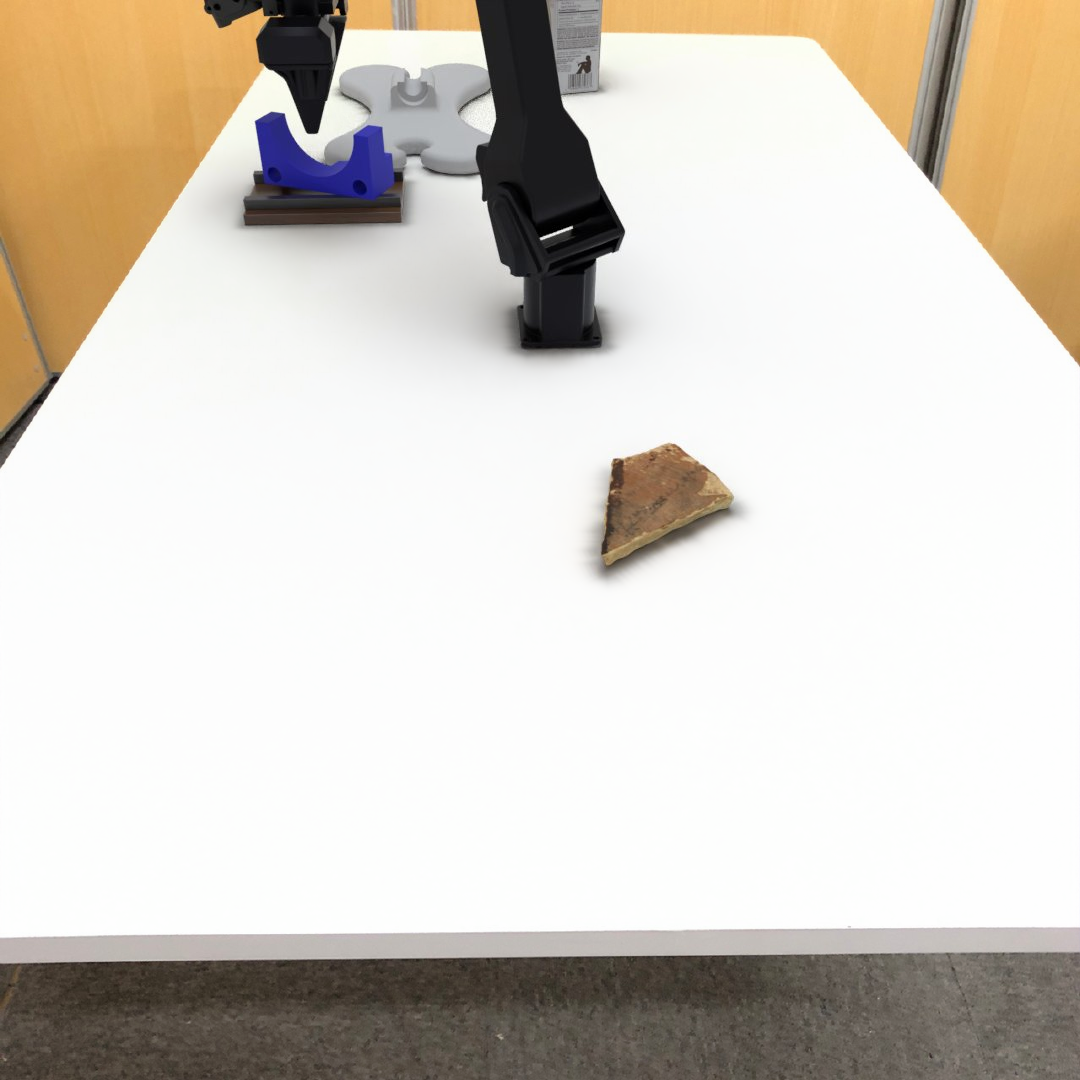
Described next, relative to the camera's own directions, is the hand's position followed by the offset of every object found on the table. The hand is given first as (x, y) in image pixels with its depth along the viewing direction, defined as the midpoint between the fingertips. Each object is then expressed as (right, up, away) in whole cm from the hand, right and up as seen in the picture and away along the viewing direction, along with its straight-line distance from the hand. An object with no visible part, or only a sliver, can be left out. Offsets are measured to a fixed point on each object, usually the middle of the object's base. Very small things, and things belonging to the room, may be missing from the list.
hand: (317, 116), depth 101 cm
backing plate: (0, -6, +5) cm, 8 cm away
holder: (+7, +9, +24) cm, 26 cm away
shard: (+29, -39, -33) cm, 59 cm away
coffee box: (+24, +19, +36) cm, 47 cm away
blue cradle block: (0, -5, +4) cm, 7 cm away
